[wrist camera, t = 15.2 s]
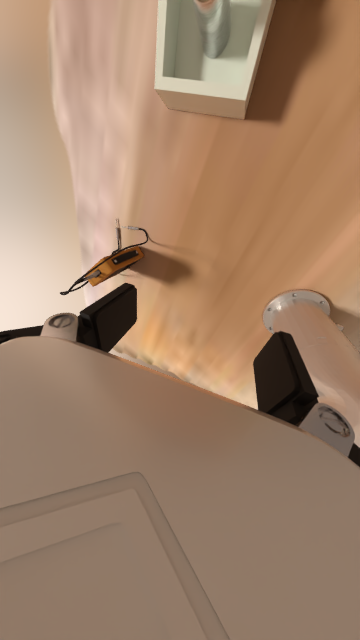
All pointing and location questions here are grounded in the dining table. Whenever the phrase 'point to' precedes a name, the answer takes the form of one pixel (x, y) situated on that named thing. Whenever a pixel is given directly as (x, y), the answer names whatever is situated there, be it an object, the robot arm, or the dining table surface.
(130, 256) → the multimeter
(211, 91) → the white open box
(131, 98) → the dining table surface
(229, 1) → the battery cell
